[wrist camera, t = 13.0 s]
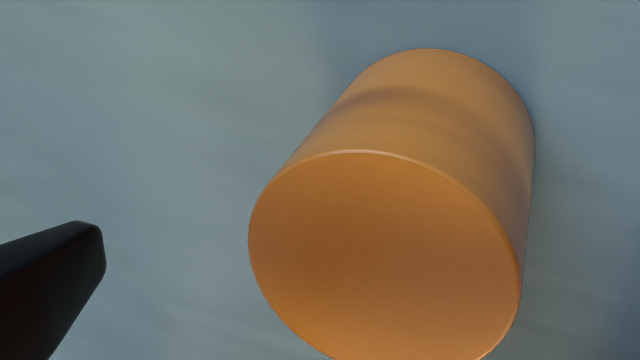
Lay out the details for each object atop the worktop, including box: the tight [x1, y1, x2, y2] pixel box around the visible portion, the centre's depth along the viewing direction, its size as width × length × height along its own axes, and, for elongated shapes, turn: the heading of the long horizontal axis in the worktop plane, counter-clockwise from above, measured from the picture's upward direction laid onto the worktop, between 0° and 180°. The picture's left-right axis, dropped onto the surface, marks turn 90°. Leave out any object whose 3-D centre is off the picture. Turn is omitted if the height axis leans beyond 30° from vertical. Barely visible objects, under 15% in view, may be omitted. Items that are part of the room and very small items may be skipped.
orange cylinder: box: [248, 49, 535, 360], centre depth 12 cm, size 5×5×5 cm
